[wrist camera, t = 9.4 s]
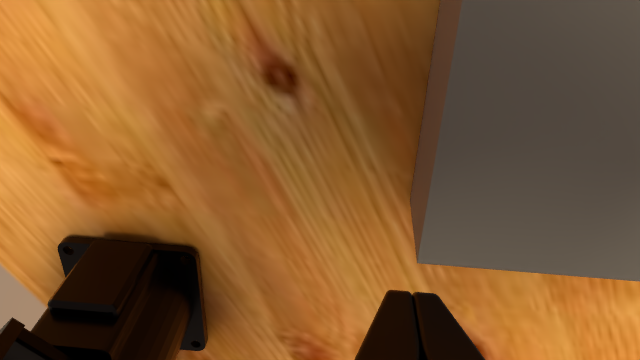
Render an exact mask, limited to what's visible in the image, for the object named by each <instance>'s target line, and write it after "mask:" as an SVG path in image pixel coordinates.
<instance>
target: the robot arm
mask: <svg viewBox="0 0 640 360" xmlns="http://www.w3.org/2000/svg"><path fill="white" fill-rule="evenodd" d="M69 247H71V248H72V249H70V248H69ZM58 252H59V256H60V259H61V263H62V266H63V270H64V274H65V277H66V278H65V280H64V281H63V282H62V284H61V285H60V286H59V288H58V289H57V290H56V292H55V293H54V295H53V296H52V297H51V299H50V300H49V301H48V308H47V309H46V311H45V312H44V313H43V315H42V316H41V318H40V319H39V320H38V322H37V323H36V325H35V326H34V327H33V329H32V330H31V331H28V330H27V329H25V328H24V326H25V325H24V324H22V323H20V322H19V321H17V320H16V319H14V318H11V319H10V321H8V322H7V323H6V325H4V326H3V328H2V329H1V330H0V360H175V359H176V357H177V354H178V352H179V349H181V350H192V351H201V350H203V349H204V348H205V346H206V343H207V329H206V320H205V310H204V301H203V291H202V281H201V272H200V262H199V255H198V252H197V251H196V250H195V249H193V248H191V247H187V246H175V245H163V244H151V243H139V242H127V241H115V240H103V239H91V238H78V237H66V238H64V239H63V240H62V241H61V243H60V244H59V245H58ZM184 256H186V257H189V258H190V259H186V258H185V257H184ZM355 360H485V359H484V357H483V356H482V355H481V353H480V352H479V350H478V349H477V348H476V346H475V345H474V344H473V342H472V341H471V340H470V338H469V337H468V336H467V334H466V333H465V332H464V330H463V329H462V327H461V326H460V325H459V323H458V322H457V321H456V319H455V318H454V317H453V315H452V314H451V313H450V311H449V310H448V308H447V307H446V306H445V304H444V303H443V302H442V300H441V299H440V298H439V296H437V295H436V294H433V293H422V292H415V293H413V294H411V293H410V292H408V291H398V290H389V291H387V293H386V294H385V296H384V299H383V301H382V303H381V305H380V307H379V309H378V311H377V313H376V315H375V317H374V320H373V322H372V324H371V326H370V328H369V330H368V332H367V334H366V336H365V339H364V341H363V343H362V345H361V347H360V349H359V351H358V353H357V355H356V357H355Z"/></svg>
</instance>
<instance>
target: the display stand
mask: <svg viewBox="0 0 640 360" xmlns="http://www.w3.org/2000/svg"><path fill="white" fill-rule="evenodd" d="M410 206H411V214H412V223H413V232H414V240H415V249H416V258H417V263H422V264H434V265H446V266H459V267H471V268H483V269H495V270H507V271H519V272H531V273H544V274H556V275H568V276H580V277H592V278H604V279H616V280H629V281H640V0H440V6H439V12H438V19H437V25H436V32H435V39H434V45H433V52H432V59H431V65H430V72H429V78H428V85H427V92H426V98H425V105H424V112H423V118H422V125H421V131H420V138H419V145H418V151H417V158H416V165H415V171H414V178H413V184H412V191H411V198H410Z"/></svg>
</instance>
